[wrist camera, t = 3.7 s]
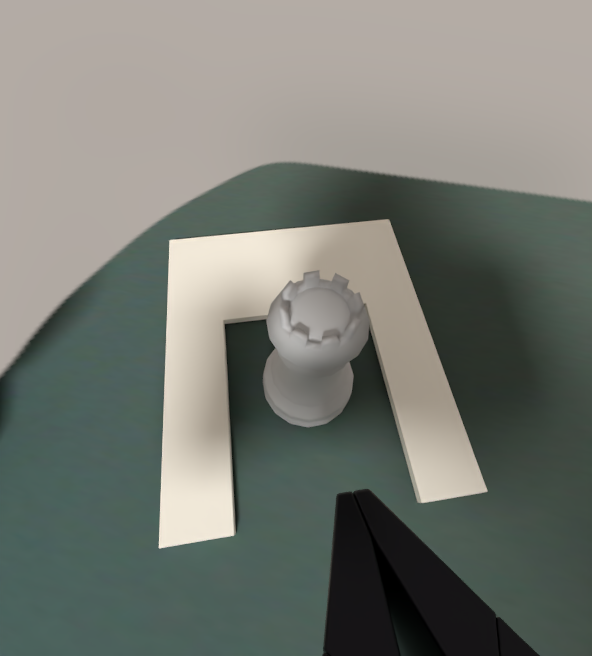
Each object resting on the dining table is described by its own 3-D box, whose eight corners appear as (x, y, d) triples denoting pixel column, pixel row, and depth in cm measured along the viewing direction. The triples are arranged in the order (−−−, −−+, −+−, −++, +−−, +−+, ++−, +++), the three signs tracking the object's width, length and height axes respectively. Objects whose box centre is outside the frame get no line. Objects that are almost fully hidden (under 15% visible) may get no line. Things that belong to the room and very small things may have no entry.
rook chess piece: (368, 383, 17) (429, 306, 9) (308, 449, 15) (326, 417, 8) (305, 328, 18) (317, 223, 11) (245, 383, 16) (211, 305, 9)
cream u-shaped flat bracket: (481, 491, 14) (487, 491, 14) (163, 546, 13) (158, 548, 13) (386, 224, 21) (388, 219, 21) (172, 245, 20) (169, 240, 20)
